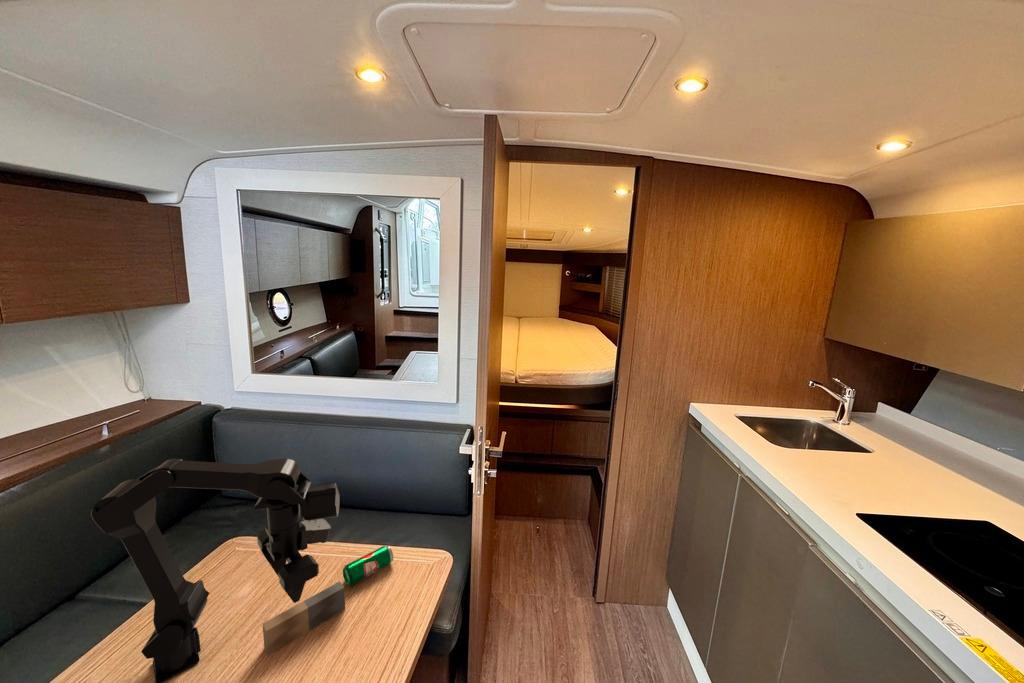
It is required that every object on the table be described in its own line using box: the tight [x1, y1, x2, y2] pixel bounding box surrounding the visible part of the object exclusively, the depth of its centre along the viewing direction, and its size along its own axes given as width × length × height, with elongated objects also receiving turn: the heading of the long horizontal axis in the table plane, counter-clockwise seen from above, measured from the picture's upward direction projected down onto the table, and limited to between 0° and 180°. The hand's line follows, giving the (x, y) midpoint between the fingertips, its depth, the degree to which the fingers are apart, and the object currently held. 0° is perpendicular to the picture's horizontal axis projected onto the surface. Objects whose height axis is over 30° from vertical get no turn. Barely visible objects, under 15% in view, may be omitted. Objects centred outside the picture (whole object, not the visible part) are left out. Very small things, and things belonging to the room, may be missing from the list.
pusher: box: [262, 580, 346, 657], centre depth 85 cm, size 16×2×6 cm, turn 137°
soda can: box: [342, 545, 394, 586], centre depth 102 cm, size 5×5×12 cm
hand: (289, 588), depth 81 cm, fingers open, 9 cm apart
